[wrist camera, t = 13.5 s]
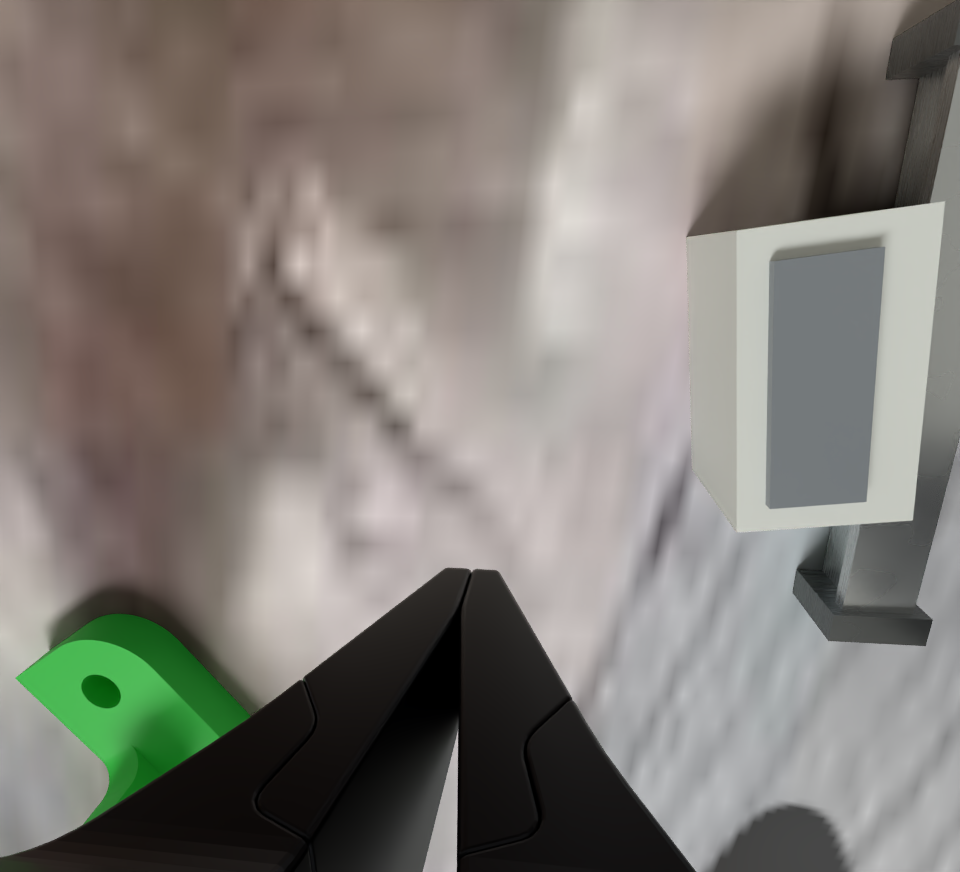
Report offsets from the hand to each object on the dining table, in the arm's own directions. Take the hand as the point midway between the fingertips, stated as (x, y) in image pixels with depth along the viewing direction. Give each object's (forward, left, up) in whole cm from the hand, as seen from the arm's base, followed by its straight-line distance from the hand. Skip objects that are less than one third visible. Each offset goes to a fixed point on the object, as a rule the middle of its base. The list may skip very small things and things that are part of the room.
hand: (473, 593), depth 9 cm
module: (-8, -2, -12) cm, 15 cm away
